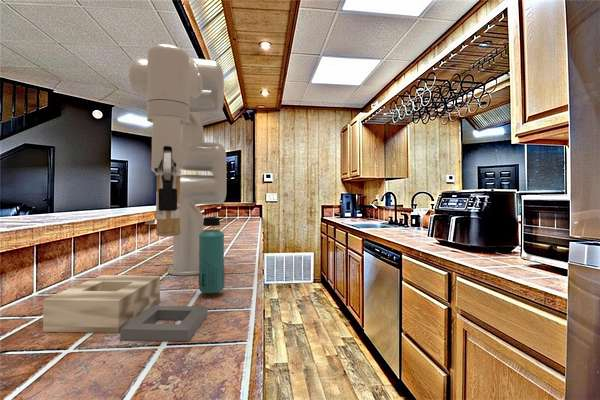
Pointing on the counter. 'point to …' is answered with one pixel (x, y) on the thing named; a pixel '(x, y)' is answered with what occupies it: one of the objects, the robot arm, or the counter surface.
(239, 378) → the counter surface
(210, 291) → the beverage bottle
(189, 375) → the counter surface
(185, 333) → the charcoal collar
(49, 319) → the birch dock block
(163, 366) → the counter surface
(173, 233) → the sprinkles bottle
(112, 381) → the counter surface
